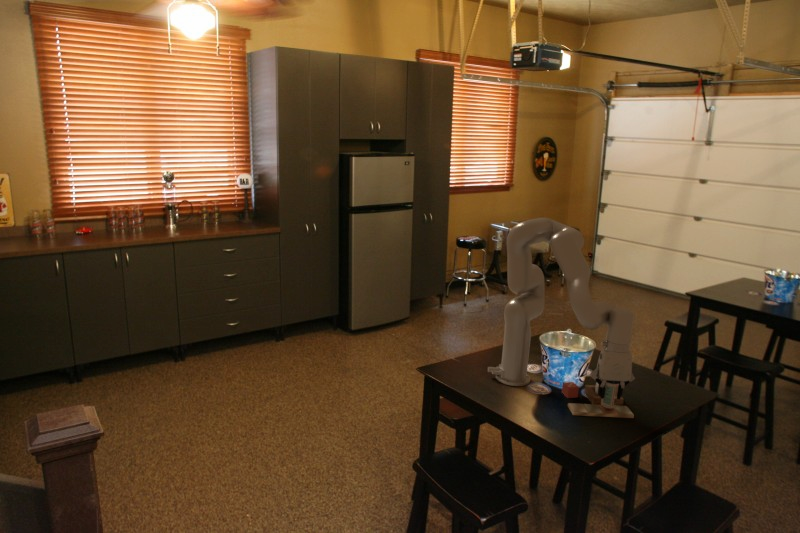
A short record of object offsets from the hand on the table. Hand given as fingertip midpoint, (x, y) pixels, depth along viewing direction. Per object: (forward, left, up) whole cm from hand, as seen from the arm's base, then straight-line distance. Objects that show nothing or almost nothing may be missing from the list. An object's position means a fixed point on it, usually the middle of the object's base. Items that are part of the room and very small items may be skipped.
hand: (609, 396), depth 194 cm
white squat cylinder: (+2, +9, -5) cm, 10 cm away
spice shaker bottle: (0, 0, -4) cm, 4 cm away
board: (-2, 0, -6) cm, 6 cm away
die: (-9, +11, -6) cm, 16 cm away
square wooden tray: (+2, +9, -6) cm, 11 cm away
